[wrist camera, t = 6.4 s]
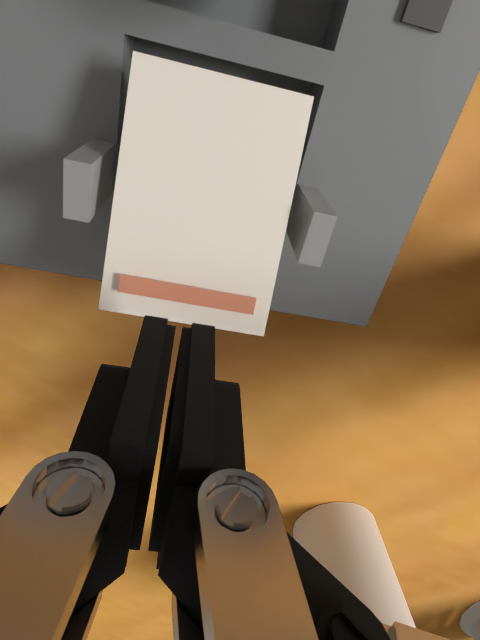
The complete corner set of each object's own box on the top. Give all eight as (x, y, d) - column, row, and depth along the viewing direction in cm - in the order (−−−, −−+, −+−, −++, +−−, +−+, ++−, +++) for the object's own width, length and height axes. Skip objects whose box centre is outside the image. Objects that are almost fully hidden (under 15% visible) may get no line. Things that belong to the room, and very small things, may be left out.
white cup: (308, 489, 28) (347, 680, 20) (398, 506, 29) (470, 691, 21) (272, 546, 31) (292, 730, 23) (354, 559, 33) (401, 738, 24)
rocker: (138, 67, 12) (131, 47, 11) (303, 107, 13) (316, 94, 12) (106, 302, 14) (97, 310, 12) (257, 327, 15) (264, 338, 13)
